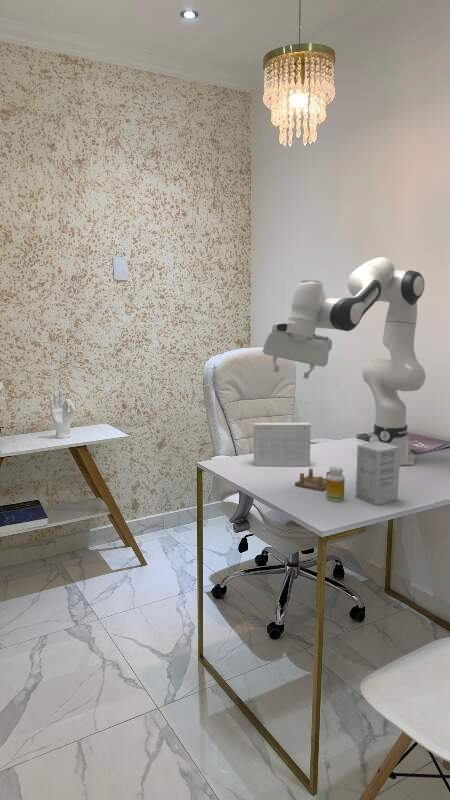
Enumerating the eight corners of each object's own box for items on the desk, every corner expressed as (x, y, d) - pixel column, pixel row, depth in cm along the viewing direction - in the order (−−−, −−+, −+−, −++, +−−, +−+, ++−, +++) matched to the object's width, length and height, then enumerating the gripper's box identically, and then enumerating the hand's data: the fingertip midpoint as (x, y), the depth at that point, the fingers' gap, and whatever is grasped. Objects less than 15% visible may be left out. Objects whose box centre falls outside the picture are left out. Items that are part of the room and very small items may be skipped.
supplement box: (398, 500, 171) (401, 446, 168) (378, 505, 166) (380, 451, 163) (375, 491, 179) (377, 440, 176) (354, 496, 174) (356, 444, 171)
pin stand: (308, 478, 193) (308, 467, 192) (335, 483, 187) (335, 471, 187) (294, 485, 185) (295, 474, 184) (322, 491, 179) (323, 479, 178)
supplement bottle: (344, 502, 169) (345, 471, 168) (326, 500, 170) (327, 470, 169) (343, 496, 175) (345, 466, 173) (326, 495, 176) (327, 465, 174)
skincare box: (308, 462, 212) (309, 422, 210) (310, 466, 207) (311, 425, 204) (253, 462, 213) (253, 421, 210) (253, 466, 207) (254, 424, 205)
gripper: (332, 339, 174) (322, 382, 174) (268, 326, 175) (259, 368, 176) (335, 337, 168) (325, 381, 168) (268, 323, 169) (259, 367, 169)
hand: (290, 375), depth 172 cm, fingers open, 8 cm apart
